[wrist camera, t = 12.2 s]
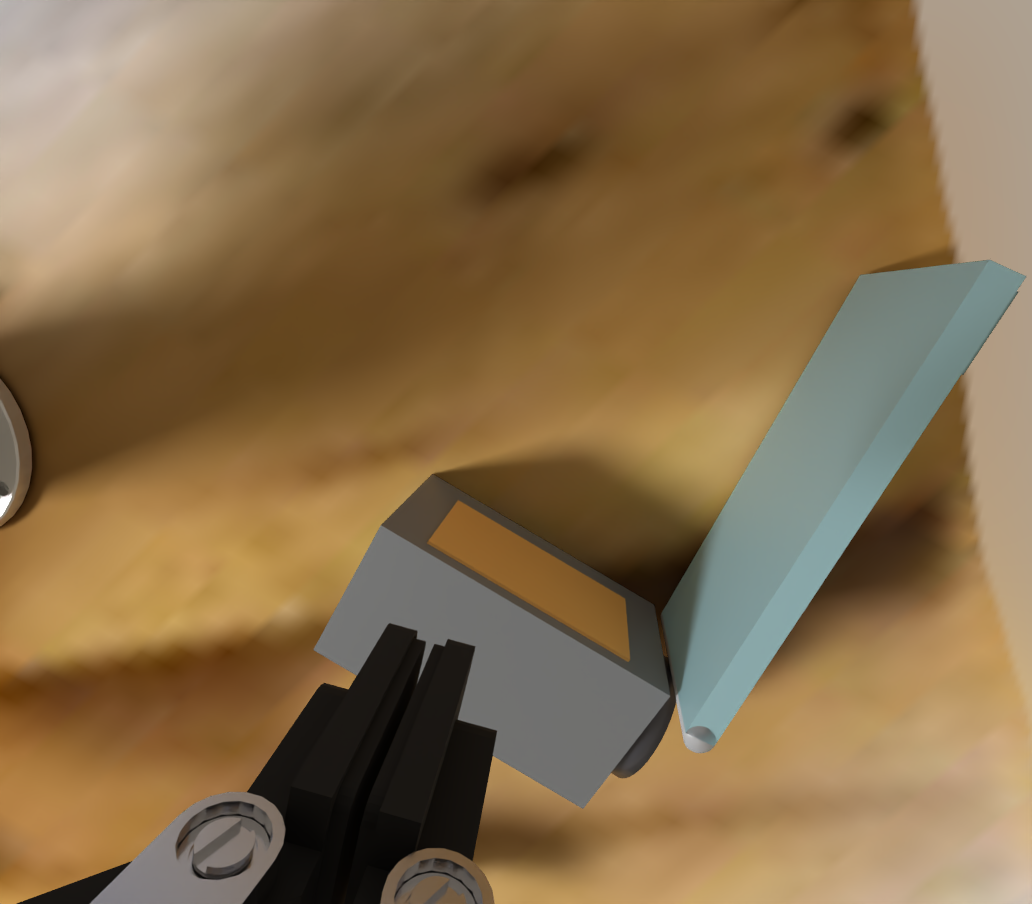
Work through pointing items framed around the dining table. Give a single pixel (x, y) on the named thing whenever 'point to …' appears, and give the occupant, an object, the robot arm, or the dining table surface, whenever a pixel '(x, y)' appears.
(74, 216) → the dining table surface
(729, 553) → the side door
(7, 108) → the dining table surface
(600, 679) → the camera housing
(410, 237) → the dining table surface
